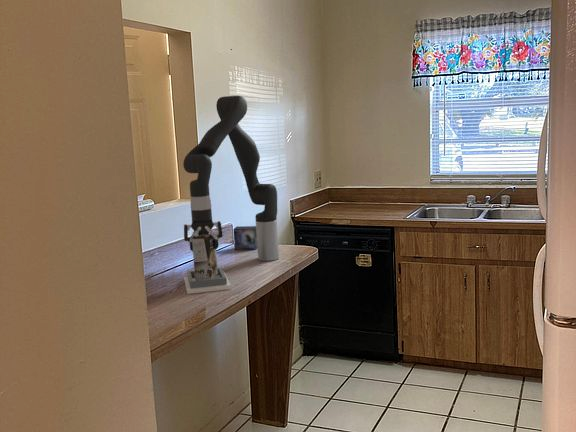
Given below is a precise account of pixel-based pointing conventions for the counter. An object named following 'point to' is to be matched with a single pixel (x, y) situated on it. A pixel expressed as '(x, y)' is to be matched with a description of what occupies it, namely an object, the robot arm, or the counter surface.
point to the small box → (245, 238)
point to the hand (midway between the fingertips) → (204, 250)
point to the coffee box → (204, 257)
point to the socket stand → (206, 283)
